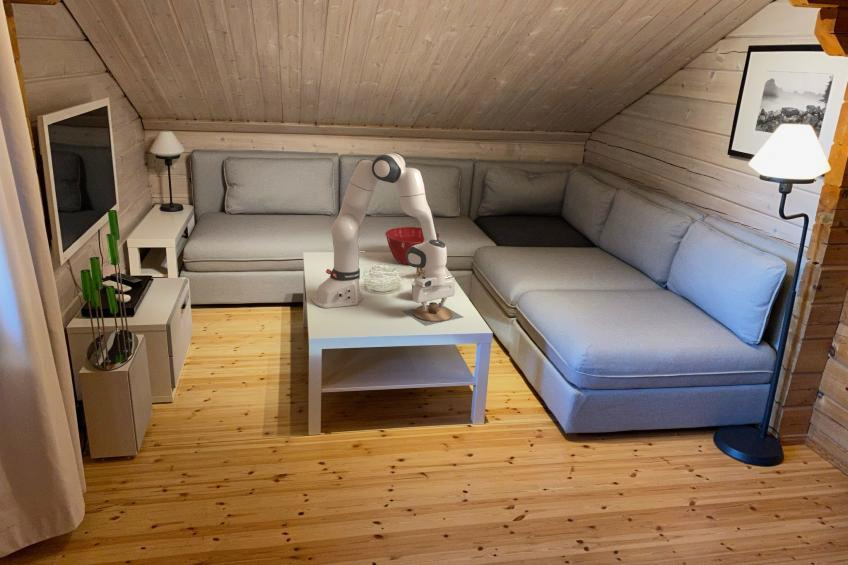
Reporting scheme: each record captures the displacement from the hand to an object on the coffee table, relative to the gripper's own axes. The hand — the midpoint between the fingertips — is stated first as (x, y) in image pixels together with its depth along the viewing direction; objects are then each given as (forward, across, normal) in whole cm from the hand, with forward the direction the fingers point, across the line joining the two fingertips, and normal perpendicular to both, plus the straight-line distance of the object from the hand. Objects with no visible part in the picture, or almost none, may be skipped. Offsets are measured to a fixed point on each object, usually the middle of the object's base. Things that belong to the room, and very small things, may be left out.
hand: (433, 308), depth 287 cm
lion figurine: (+3, -25, -42) cm, 49 cm away
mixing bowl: (+3, -33, -67) cm, 75 cm away
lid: (+2, 0, 0) cm, 3 cm away
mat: (+3, 0, 0) cm, 3 cm away
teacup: (+3, -8, -19) cm, 21 cm away
